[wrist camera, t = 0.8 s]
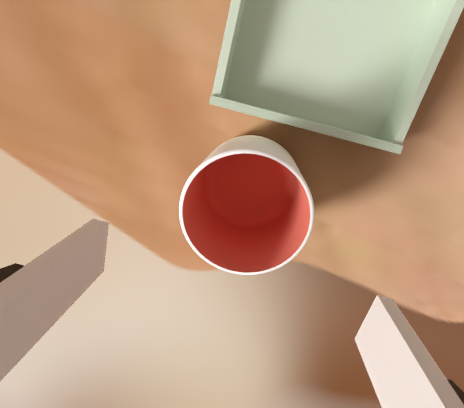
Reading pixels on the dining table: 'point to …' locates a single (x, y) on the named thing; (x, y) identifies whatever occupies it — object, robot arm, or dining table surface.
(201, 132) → the dining table surface
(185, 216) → the cup
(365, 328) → the robot arm
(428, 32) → the pale green square tray
